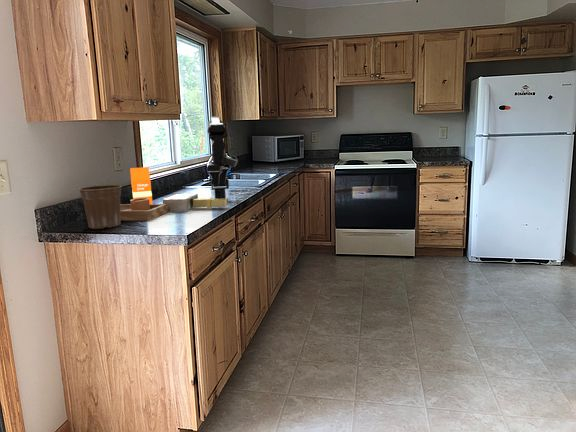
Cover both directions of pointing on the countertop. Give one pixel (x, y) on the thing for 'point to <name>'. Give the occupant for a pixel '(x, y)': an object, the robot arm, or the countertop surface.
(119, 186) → the plant pot
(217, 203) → the end cover
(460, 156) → the countertop surface
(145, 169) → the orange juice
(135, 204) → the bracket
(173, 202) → the white rectangular box
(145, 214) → the tray
